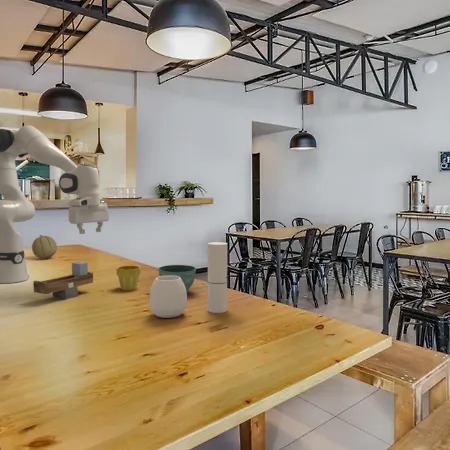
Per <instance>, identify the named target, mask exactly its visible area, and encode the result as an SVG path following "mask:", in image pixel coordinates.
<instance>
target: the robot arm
mask: <svg viewBox="0 0 450 450" xmlns="http://www.w3.org/2000/svg"><path fill="white" fill-rule="evenodd" d="M28 155H29V157H31V158H32V159H33V160H35V161H36V162H37V163H40V164H43V165H47V166H48V165H49V166H52V167H56V168H58V169H60V170H62V171H63V173H62V174H61V175H60V176H59V179H58V186H59V189H60V191H61V192H62V193H64V194H67V195H78V197H76V198H74V199H73V198H72V199H71V200H69V201H68V206H69V208H68V222H69V223H70V224H72V225H76V227H77V229H78V231H79V235H85V233H86V232H85V231H86V230H85V229H84V227H83V226H84V224H88V223H96V224H97V227H96V228H95V232H96V233H101V232H102V228H103V225H104V222H108V221H109V220H110V214H109V213H110V212H109V208H108V207H109V206H108V203H107V202H105V200H102V201H101V199H100V198H101V196H100V190H99V188H100V176H99V170H98V168H97V166H95V165H92V164H87V163H80V164H77V163H76V162H75V161H74V160H73V159H72V158H70V157H69V156H68V155H67V154H65V153H64V152H63V151H62V150H60V148H58V146H56V145H55V144H54V143H53V142H52V141H51V140H50V139H49V138H48V137H47V136H46V135H45V134H44V133H43V132H41V131H40V130H39V129H37V127H35V126H33V125H23V126H21V127H19V129H17V130H15V129H7V128H0V195H1V196H2V197H3V199H0V284H13V283H20V282H24V281H27V280H28V279H29V278H30V274H28V267H27V262H26V260H25V250H24V236H23V234H22V233H21V232H20V231H18V230H16V229H15V227H14V224H13V223H20V222H22V223H23V222H26V221H29V220H31V219H33V218H34V216H35V213H36V208H35V206H34V203H33V202H32V201H31V200H29V199H28V198H27V197H26V196H25V195H24V194H23V192H22V189H21V187H20V184H19V179H18V172H17V167H16V159H17V157H19V158H20V159H21V158H23V157H25V156H28Z"/></svg>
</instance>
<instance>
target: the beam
mask: <svg viewBox="0 0 450 450" xmlns="http://www.w3.org/2000/svg"><path fill="white" fill-rule="evenodd" d="M93 283H94V272H92V271H88V274H87V275H84V276H79V277H75V278H74V275H72V274H70V275H65V276H60V277H56V278H51V279H47V280H41V281H40V280H33V284H32V285H33V293H36V294H42V295H49V294H52V298H55V299H56V298H57V299H62V300H70V299H73V298H76V297H78V295H79V294H78V292H79V291H78V287H81V286H85V285H88V284H93Z"/></svg>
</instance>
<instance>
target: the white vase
mask: <svg viewBox="0 0 450 450" xmlns="http://www.w3.org/2000/svg"><path fill="white" fill-rule="evenodd" d="M187 294H188V293H187V292H186V288H185V285H184V283H183V281H182V280H181V278H180V277H178V276H170V275H168V276H160V277H159V276H157V277H155V279H154V280H153V283H152V284H151V287H150V289H149V307H150V309H151V312H152V314H153V315H155V316H156V317H158V318H163V319H164V318H167V319H169V318H170V319H171V318H176V317H180V316H181V315H182V314H183V313H184V312H185V310H186V308H187V305H188V295H187Z"/></svg>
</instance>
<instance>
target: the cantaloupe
mask: <svg viewBox="0 0 450 450" xmlns="http://www.w3.org/2000/svg"><path fill="white" fill-rule="evenodd" d="M57 247H58V245H57V242H56V241H55V239H54V238H53V237H51V236H48V235H42V234H39V236H38V237H36V238H35V239H34V240H33V242H32V243H31V250H32V253H33V255H34V256H35V257H36V258H38V259H41V260H48V259H50V258H51V257H53V256H55V254H56V253H57V251H58V250H57V249H58V248H57Z"/></svg>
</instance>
